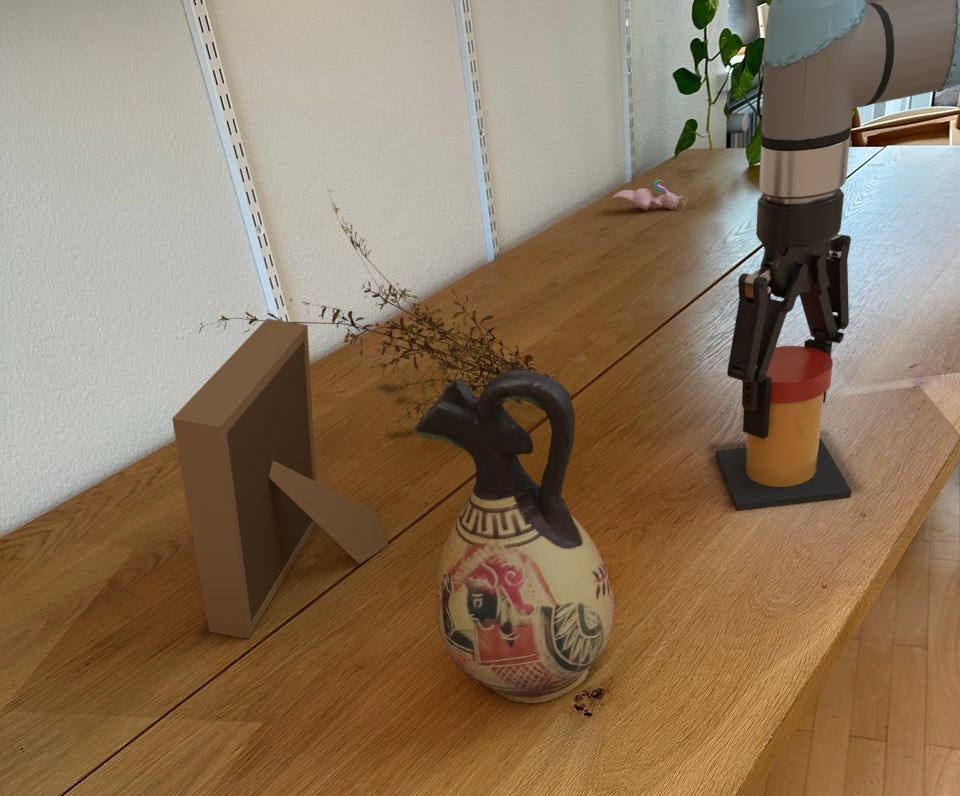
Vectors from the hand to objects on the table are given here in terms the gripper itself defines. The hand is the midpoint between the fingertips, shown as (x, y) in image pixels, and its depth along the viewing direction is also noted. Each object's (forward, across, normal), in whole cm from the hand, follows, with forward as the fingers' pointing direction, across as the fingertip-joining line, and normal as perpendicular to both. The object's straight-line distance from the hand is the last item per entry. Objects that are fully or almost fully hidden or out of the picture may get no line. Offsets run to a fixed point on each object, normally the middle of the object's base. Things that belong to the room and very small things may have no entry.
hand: (784, 416), depth 97 cm
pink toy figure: (+8, -66, -85) cm, 107 cm away
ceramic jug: (+8, +40, +5) cm, 41 cm away
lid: (-6, 0, 0) cm, 6 cm away
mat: (+7, 0, 0) cm, 7 cm away
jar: (+7, 0, 0) cm, 7 cm away
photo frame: (+8, +47, -26) cm, 54 cm away
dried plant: (+8, +21, -43) cm, 48 cm away
